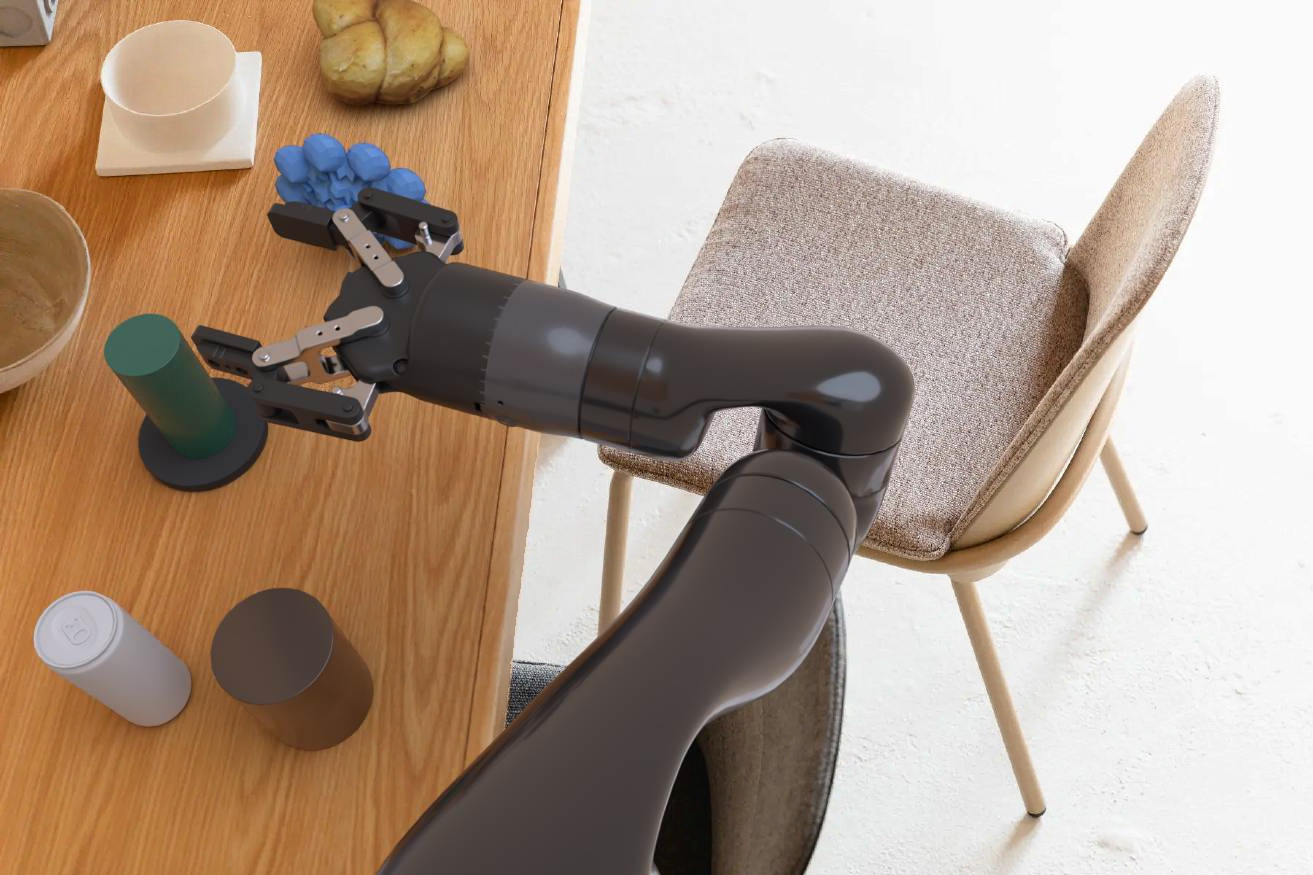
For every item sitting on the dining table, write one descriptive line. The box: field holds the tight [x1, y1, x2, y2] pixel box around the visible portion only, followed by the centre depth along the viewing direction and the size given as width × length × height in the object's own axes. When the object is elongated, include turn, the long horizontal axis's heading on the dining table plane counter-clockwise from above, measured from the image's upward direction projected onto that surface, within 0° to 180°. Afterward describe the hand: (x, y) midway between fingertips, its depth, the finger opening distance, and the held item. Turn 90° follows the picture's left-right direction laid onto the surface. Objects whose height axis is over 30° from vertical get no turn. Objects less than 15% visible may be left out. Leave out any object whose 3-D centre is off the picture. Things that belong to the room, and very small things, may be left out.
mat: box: [137, 377, 269, 493], centre depth 84 cm, size 9×9×1 cm
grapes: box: [273, 132, 432, 250], centre depth 88 cm, size 12×7×12 cm, turn 86°
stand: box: [210, 587, 374, 752], centre depth 71 cm, size 7×7×10 cm
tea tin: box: [103, 313, 237, 459], centre depth 79 cm, size 5×5×11 cm
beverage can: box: [32, 590, 192, 727], centre depth 70 cm, size 5×5×12 cm
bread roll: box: [311, 0, 470, 106], centre depth 99 cm, size 13×10×8 cm
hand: (237, 278), depth 63 cm, fingers open, 8 cm apart
